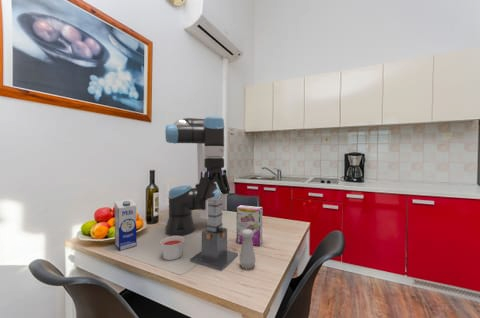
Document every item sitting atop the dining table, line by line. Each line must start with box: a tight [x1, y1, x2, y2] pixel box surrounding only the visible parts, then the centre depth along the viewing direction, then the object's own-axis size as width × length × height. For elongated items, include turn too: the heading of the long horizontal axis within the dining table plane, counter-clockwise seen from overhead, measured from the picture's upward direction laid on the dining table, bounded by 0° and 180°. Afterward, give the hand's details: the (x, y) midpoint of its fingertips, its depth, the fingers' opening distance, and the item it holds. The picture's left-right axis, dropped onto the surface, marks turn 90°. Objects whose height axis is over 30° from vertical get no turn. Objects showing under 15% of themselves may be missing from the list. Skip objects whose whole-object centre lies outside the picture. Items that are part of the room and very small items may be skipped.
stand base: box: [189, 226, 239, 272], centre depth 78 cm, size 14×12×12 cm
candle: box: [159, 235, 185, 261], centre depth 80 cm, size 9×9×6 cm
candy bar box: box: [236, 204, 263, 247], centre depth 92 cm, size 11×5×16 cm, turn 71°
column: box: [206, 197, 223, 234], centre depth 78 cm, size 4×4×22 cm
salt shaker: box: [239, 229, 256, 270], centre depth 73 cm, size 6×6×13 cm
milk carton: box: [114, 198, 138, 252], centre depth 89 cm, size 7×7×20 cm
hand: (214, 213), depth 78 cm, fingers open, 12 cm apart
